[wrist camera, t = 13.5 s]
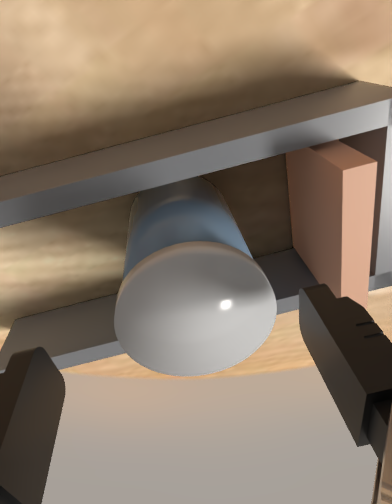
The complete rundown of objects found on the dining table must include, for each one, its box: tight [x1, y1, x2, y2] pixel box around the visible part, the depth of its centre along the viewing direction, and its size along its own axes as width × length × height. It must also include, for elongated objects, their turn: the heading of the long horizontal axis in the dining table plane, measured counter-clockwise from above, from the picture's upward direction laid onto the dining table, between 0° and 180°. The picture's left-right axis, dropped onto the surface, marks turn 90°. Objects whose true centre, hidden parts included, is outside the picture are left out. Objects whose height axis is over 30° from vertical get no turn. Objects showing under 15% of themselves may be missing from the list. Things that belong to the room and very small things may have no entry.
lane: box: [0, 81, 392, 373], centre depth 17 cm, size 10×22×4 cm, turn 103°
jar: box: [114, 176, 277, 376], centre depth 15 cm, size 6×6×8 cm
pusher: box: [286, 140, 377, 308], centre depth 16 cm, size 7×1×6 cm, turn 13°
